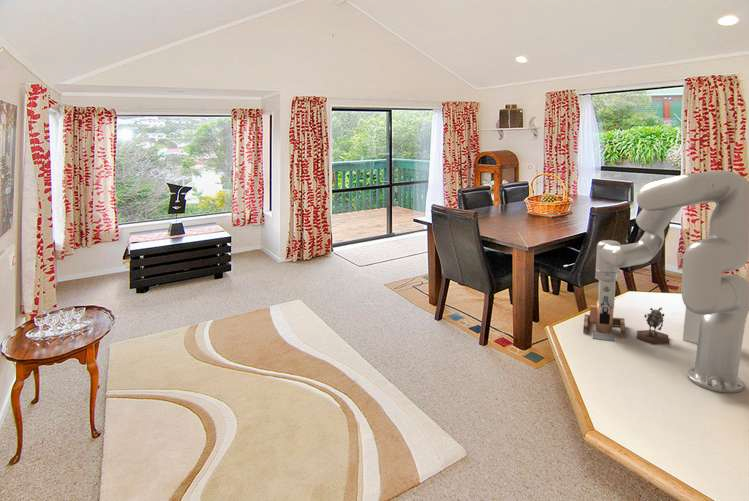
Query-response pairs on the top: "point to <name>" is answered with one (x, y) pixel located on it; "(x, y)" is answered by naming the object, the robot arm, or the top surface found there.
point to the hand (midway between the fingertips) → (604, 318)
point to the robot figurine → (652, 335)
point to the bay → (616, 322)
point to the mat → (603, 337)
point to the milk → (691, 326)
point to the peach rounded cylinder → (595, 317)
